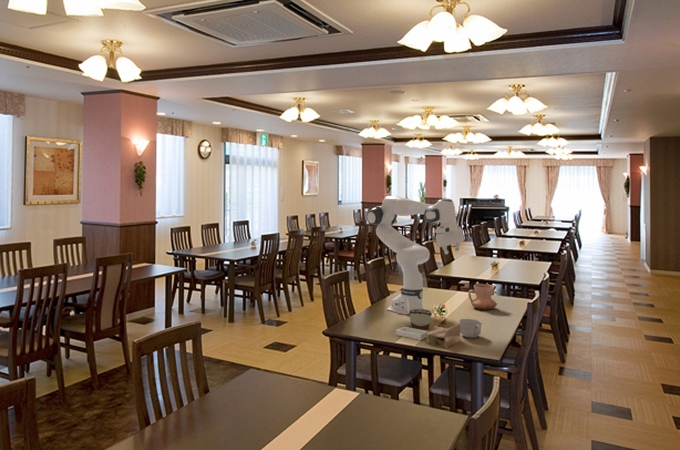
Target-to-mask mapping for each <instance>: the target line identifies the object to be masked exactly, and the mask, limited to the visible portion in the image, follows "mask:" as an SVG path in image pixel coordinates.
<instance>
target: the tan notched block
mask: <svg viewBox="0 0 680 450" xmlns="http://www.w3.org/2000/svg"><path fill="white" fill-rule="evenodd" d="M431 337H435V338H439V340H438V346H441V347H444V348H449V347H451V346H452V345H454V344H456V343H458V342H460V341H461V333H460V323H456V324H455V325H453V326H449V327H448V328H447V327H442V326H436V325H435V326H433V330H429V332H428V333H427V337H426V344H431ZM443 339H444V340H443Z"/></svg>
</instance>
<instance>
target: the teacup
mask: <svg viewBox="0 0 680 450" xmlns="http://www.w3.org/2000/svg"><path fill="white" fill-rule="evenodd" d="M459 324H460V335H462V336H463V337H466V338H471V339H472V338H473V339H474V338H478V337H479V335H481V333H482V325H483V322H482V321H481V320H479V319H473V318H460V319H459Z"/></svg>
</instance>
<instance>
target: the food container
mask: <svg viewBox="0 0 680 450" xmlns="http://www.w3.org/2000/svg"><path fill="white" fill-rule="evenodd" d="M408 315H409V318H410V328H415V329H420V330H425V331H429V332H430V328H431V327H430V326H431V319H432V316H433V313H432V311H431V309H425V308H424V309H412V310H410V311H409V314H408Z"/></svg>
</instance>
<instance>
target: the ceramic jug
mask: <svg viewBox="0 0 680 450" xmlns="http://www.w3.org/2000/svg"><path fill="white" fill-rule="evenodd" d="M494 290H495V286H494V285H492V284H491V285H490V284H474V285H473V289H469V291H468V292H467V293H468V294H467V296H468V298H469V300H470V303H471V306H472V307H473V308H475V309H478V310H483V311H489V310H493V309H494V308H496V307H497V305H498V303H497V302H496V300H494V299H492V296H493V295H494V294H496V295H498V293H499V291H497V290H496V291H494ZM471 293H473V294H475V296H476V297H475V299H473V298H472V297H471V296H472V295H471Z"/></svg>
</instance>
